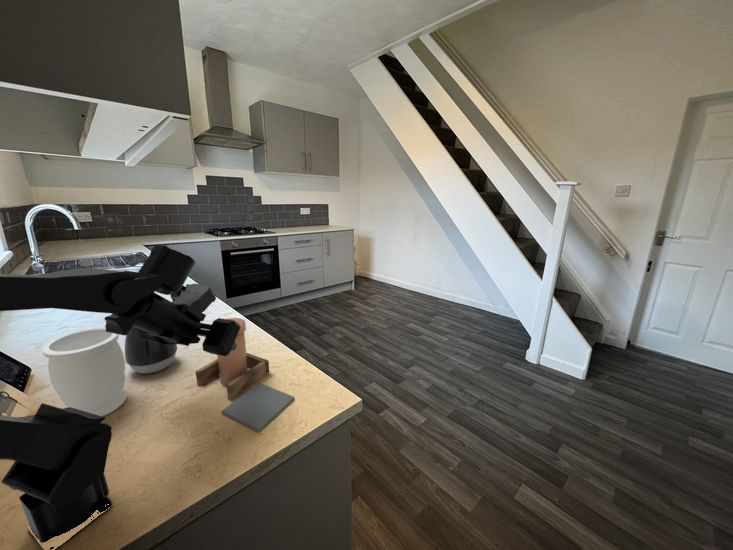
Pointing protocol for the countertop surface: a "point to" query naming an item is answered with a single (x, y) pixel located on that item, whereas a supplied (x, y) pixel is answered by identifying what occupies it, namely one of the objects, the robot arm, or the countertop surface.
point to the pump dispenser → (147, 353)
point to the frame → (241, 383)
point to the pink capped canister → (234, 358)
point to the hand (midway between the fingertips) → (216, 344)
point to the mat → (258, 406)
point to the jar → (87, 370)
